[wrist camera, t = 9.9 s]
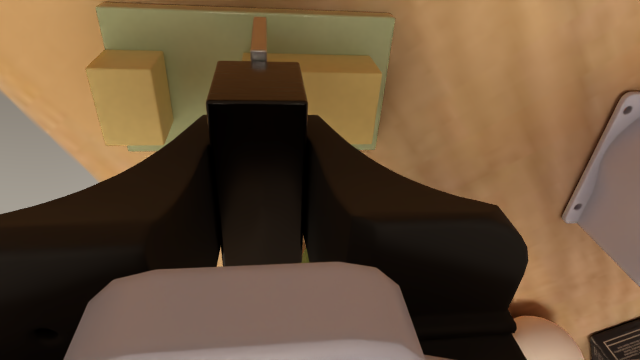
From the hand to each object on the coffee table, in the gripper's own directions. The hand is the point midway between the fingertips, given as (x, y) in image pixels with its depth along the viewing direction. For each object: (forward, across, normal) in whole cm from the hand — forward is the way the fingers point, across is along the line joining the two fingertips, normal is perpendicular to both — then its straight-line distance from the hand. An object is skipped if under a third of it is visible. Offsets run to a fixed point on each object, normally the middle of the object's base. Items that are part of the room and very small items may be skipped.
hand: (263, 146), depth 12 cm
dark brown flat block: (+3, 0, 0) cm, 3 cm away
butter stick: (+9, -2, +2) cm, 9 cm away
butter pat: (+9, +6, +2) cm, 11 cm away
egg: (+6, -24, +27) cm, 36 cm away
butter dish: (+10, 0, +2) cm, 10 cm away
